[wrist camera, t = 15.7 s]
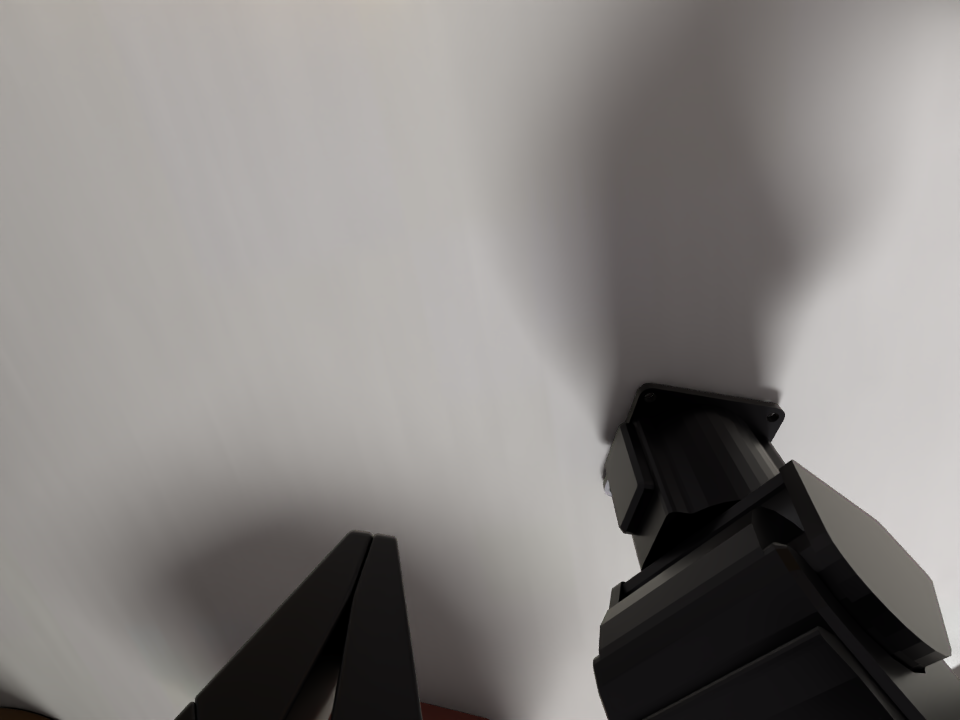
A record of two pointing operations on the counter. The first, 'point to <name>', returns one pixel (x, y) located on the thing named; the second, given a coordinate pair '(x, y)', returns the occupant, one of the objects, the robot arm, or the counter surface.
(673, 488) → the robot arm
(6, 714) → the olive oil
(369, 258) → the counter surface
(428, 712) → the bucket
